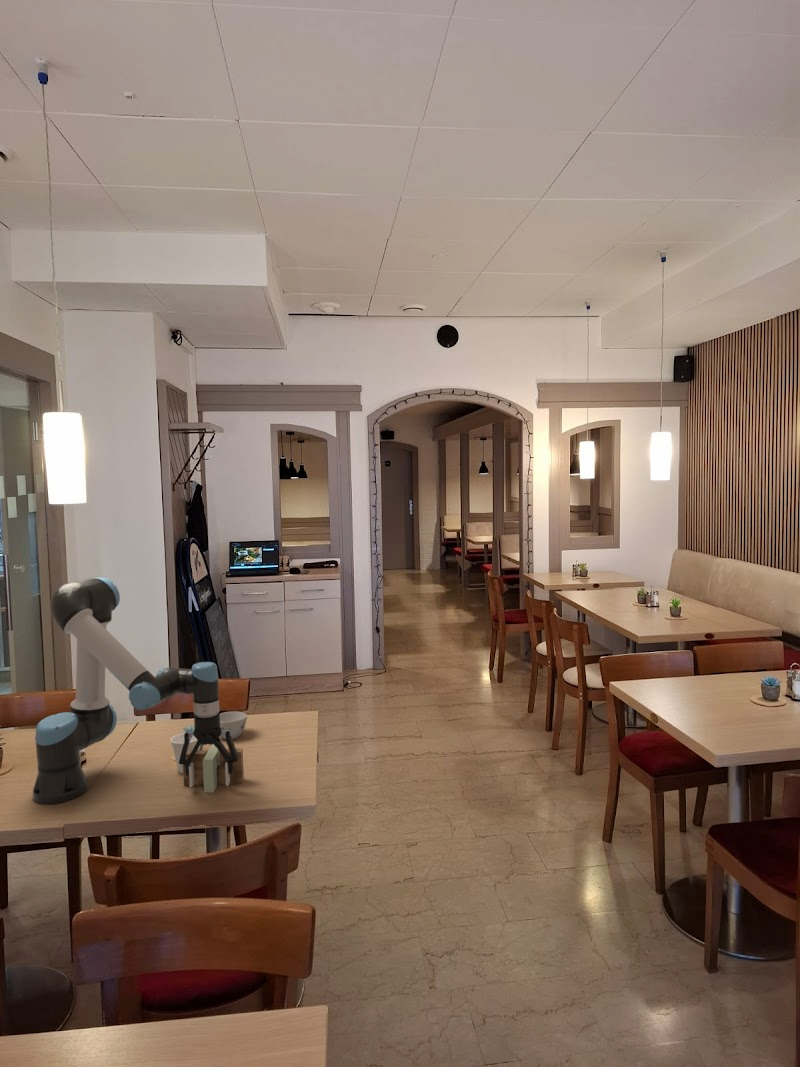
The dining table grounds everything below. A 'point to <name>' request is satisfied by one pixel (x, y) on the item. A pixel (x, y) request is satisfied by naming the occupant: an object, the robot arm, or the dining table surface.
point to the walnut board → (235, 777)
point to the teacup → (233, 723)
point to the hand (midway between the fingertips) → (210, 784)
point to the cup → (178, 745)
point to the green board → (210, 769)
